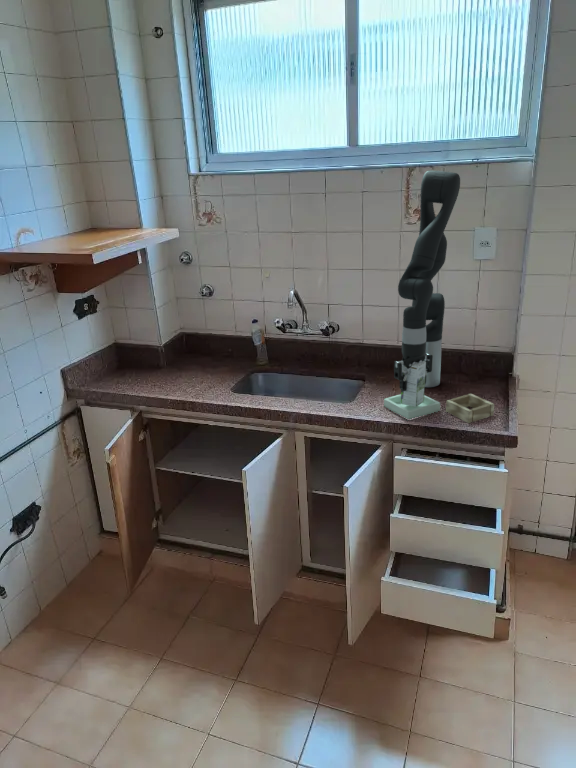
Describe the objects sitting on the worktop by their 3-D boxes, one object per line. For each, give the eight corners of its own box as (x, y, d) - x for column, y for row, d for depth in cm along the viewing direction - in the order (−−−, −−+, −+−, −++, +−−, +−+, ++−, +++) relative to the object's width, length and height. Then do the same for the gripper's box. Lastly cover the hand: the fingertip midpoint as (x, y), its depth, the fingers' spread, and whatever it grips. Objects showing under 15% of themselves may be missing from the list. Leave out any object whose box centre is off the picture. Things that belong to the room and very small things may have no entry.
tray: (383, 407, 196) (384, 398, 195) (414, 398, 202) (414, 390, 201) (408, 420, 186) (408, 412, 184) (440, 411, 191) (440, 402, 190)
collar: (445, 411, 190) (446, 400, 189) (469, 404, 195) (470, 393, 193) (468, 423, 182) (469, 411, 180) (493, 415, 186) (494, 403, 184)
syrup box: (408, 398, 196) (409, 357, 191) (424, 401, 193) (426, 360, 188) (400, 403, 192) (401, 362, 187) (416, 407, 189) (417, 365, 183)
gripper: (424, 332, 191) (422, 379, 197) (388, 341, 185) (388, 389, 191) (439, 338, 184) (437, 386, 191) (403, 347, 178) (402, 396, 185)
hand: (412, 387), depth 191 cm, fingers closed on syrup box, 7 cm apart
